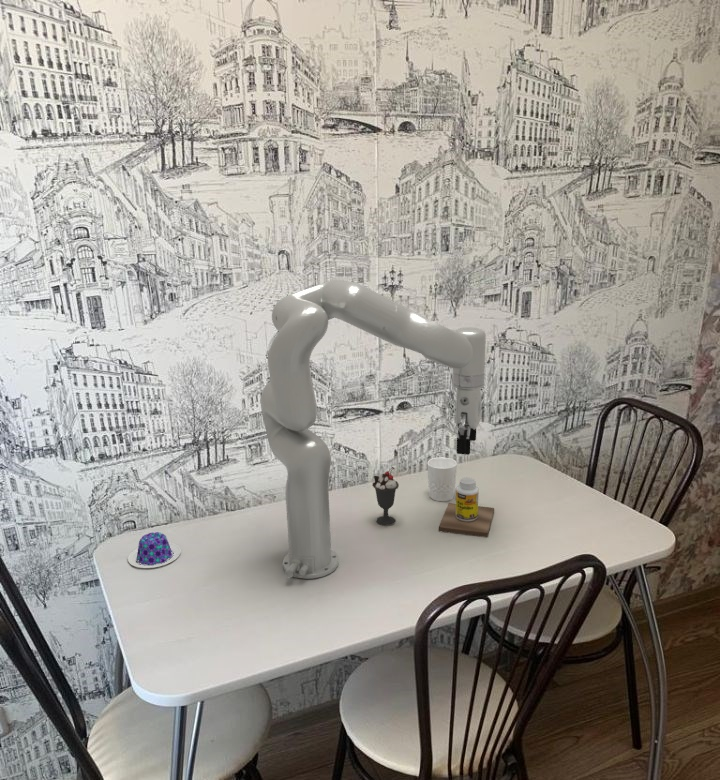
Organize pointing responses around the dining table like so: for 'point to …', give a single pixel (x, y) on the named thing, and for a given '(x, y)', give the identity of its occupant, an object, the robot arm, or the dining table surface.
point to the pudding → (154, 551)
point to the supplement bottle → (467, 500)
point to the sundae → (385, 495)
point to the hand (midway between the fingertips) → (466, 446)
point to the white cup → (442, 478)
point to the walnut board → (467, 528)
